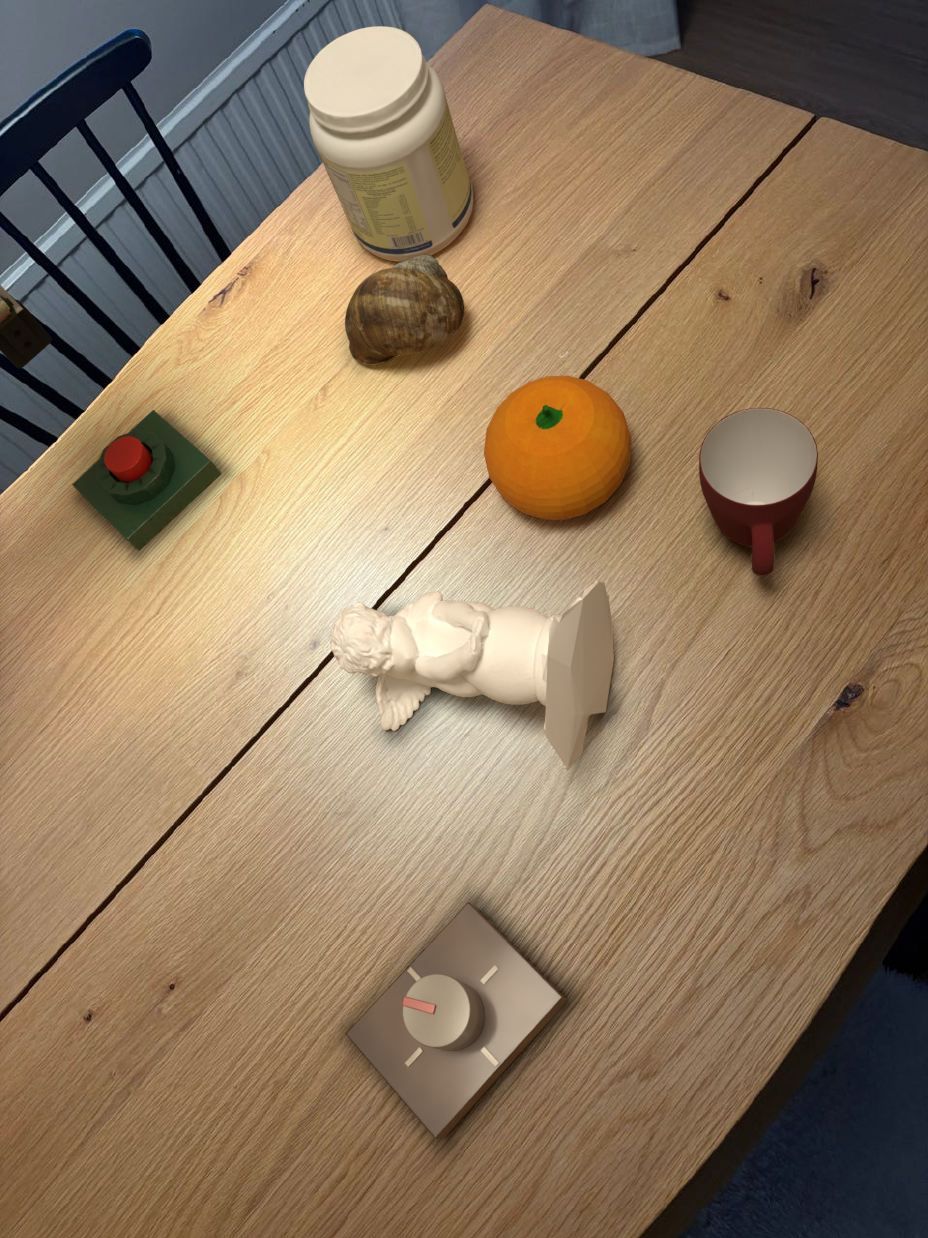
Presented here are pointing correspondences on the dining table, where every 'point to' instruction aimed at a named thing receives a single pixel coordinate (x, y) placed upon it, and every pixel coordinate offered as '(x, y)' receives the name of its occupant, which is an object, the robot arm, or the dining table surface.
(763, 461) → the mug
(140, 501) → the box
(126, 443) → the button
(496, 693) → the angel figurine
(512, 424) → the fruit
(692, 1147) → the dining table surface
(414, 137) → the supplement tub
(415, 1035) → the dial
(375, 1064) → the dial panel
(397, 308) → the seashell
